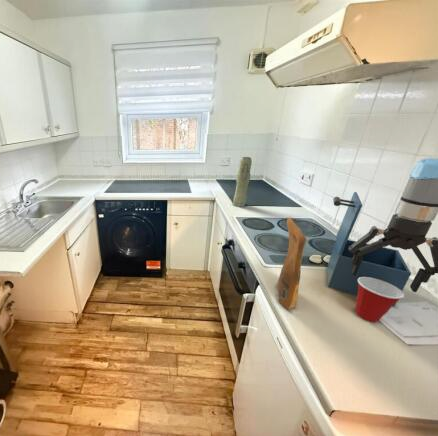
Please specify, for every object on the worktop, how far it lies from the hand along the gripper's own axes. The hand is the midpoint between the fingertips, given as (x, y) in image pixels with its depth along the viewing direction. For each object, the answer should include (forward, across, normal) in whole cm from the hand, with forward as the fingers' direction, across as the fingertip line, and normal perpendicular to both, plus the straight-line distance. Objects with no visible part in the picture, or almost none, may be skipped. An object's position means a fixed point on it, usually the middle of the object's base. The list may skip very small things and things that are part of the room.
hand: (381, 281), depth 73 cm
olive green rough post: (+14, +64, -87) cm, 109 cm away
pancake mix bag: (+14, +24, +4) cm, 28 cm away
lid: (-10, +9, -19) cm, 24 cm away
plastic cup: (+14, 0, 0) cm, 14 cm away
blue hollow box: (+14, +1, -19) cm, 23 cm away
